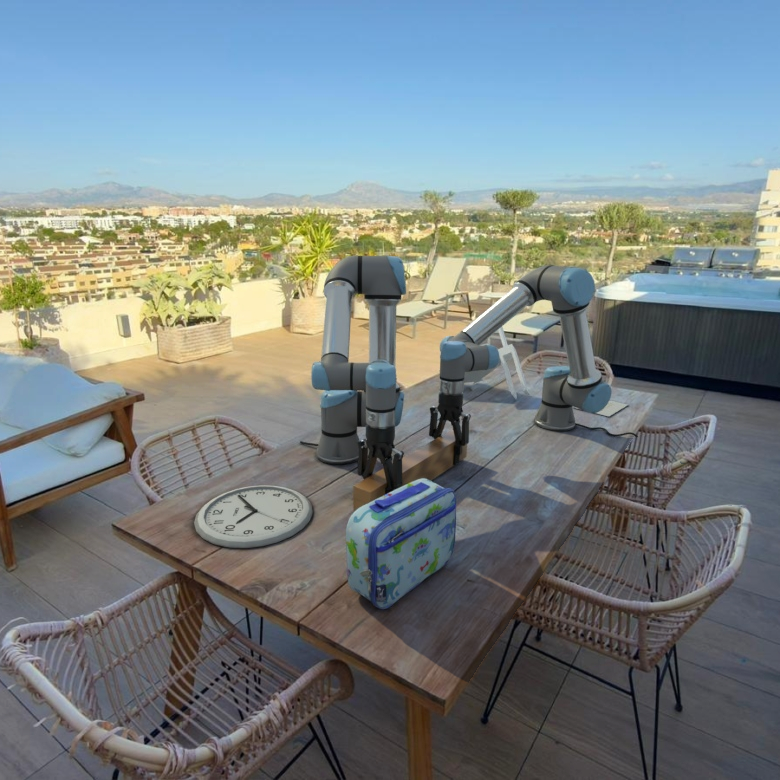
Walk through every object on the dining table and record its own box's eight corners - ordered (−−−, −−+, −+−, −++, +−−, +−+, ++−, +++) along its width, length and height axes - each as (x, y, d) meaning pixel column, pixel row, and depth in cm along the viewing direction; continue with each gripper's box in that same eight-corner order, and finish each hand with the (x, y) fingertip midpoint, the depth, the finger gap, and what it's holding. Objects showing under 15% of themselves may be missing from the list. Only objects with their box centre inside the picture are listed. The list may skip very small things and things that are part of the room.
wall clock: (308, 539, 124) (178, 544, 121) (308, 545, 124) (179, 550, 122) (315, 481, 152) (209, 483, 150) (315, 486, 153) (210, 488, 150)
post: (451, 452, 175) (452, 429, 172) (466, 456, 171) (467, 433, 169) (353, 514, 136) (353, 485, 134) (370, 521, 133) (370, 492, 131)
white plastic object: (461, 429, 252) (437, 405, 227) (444, 352, 274) (420, 323, 250) (535, 404, 240) (518, 377, 215) (510, 326, 262) (492, 293, 237)
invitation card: (608, 416, 214) (573, 407, 224) (608, 416, 214) (573, 408, 224) (628, 404, 229) (594, 396, 238) (628, 405, 229) (594, 397, 238)
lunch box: (375, 622, 100) (376, 527, 94) (339, 595, 108) (338, 505, 101) (459, 565, 118) (465, 481, 112) (424, 545, 125) (427, 465, 119)
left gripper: (343, 419, 136) (343, 499, 143) (401, 437, 125) (399, 522, 132) (361, 412, 142) (361, 489, 148) (419, 428, 131) (416, 510, 138)
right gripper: (418, 388, 163) (416, 456, 170) (472, 401, 152) (467, 473, 159) (431, 383, 169) (428, 449, 175) (484, 395, 158) (479, 464, 165)
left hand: (379, 504), depth 140 cm, fingers closed on post, 6 cm apart
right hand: (447, 460), depth 167 cm, fingers closed on post, 6 cm apart
